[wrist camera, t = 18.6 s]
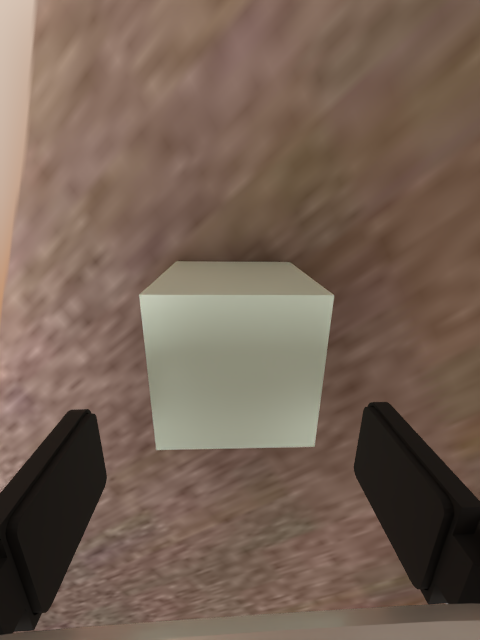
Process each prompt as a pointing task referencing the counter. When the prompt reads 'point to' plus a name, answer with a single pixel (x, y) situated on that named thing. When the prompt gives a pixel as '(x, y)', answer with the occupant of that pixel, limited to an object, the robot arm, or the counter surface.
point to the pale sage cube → (235, 354)
